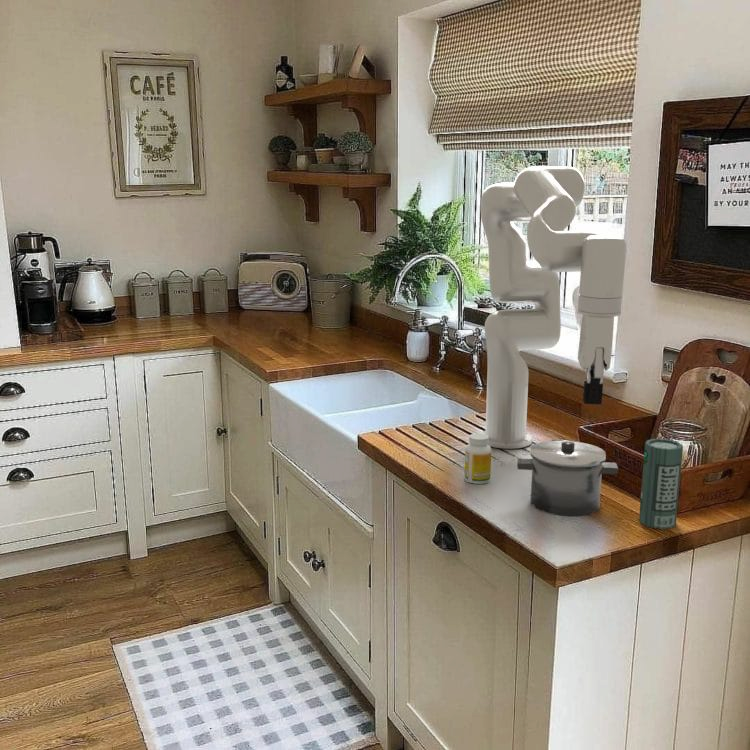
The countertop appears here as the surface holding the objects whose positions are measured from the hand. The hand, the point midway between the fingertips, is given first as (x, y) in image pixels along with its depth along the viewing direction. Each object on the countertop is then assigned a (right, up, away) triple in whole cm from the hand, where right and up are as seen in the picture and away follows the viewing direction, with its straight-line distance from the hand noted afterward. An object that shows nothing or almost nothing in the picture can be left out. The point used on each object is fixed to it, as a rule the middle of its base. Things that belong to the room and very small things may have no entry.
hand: (592, 402), depth 153 cm
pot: (-3, -20, +7) cm, 21 cm away
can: (+11, -22, -2) cm, 25 cm away
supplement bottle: (-19, -17, +19) cm, 32 cm away
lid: (-3, -10, +5) cm, 12 cm away
